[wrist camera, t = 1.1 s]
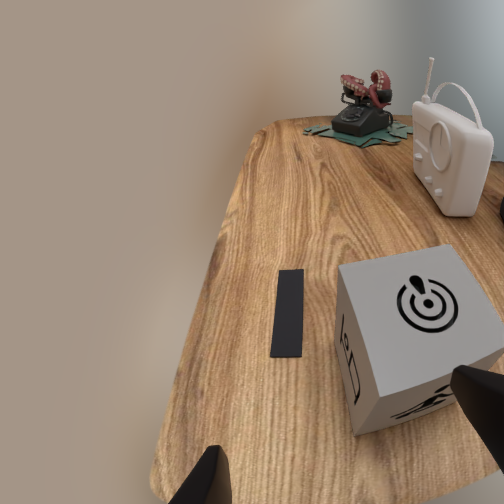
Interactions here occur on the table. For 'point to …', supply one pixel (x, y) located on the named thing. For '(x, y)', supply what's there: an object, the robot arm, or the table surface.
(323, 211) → the table surface
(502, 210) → the multimeter
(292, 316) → the felt mark
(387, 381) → the icon cube
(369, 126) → the telephone
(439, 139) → the radio
